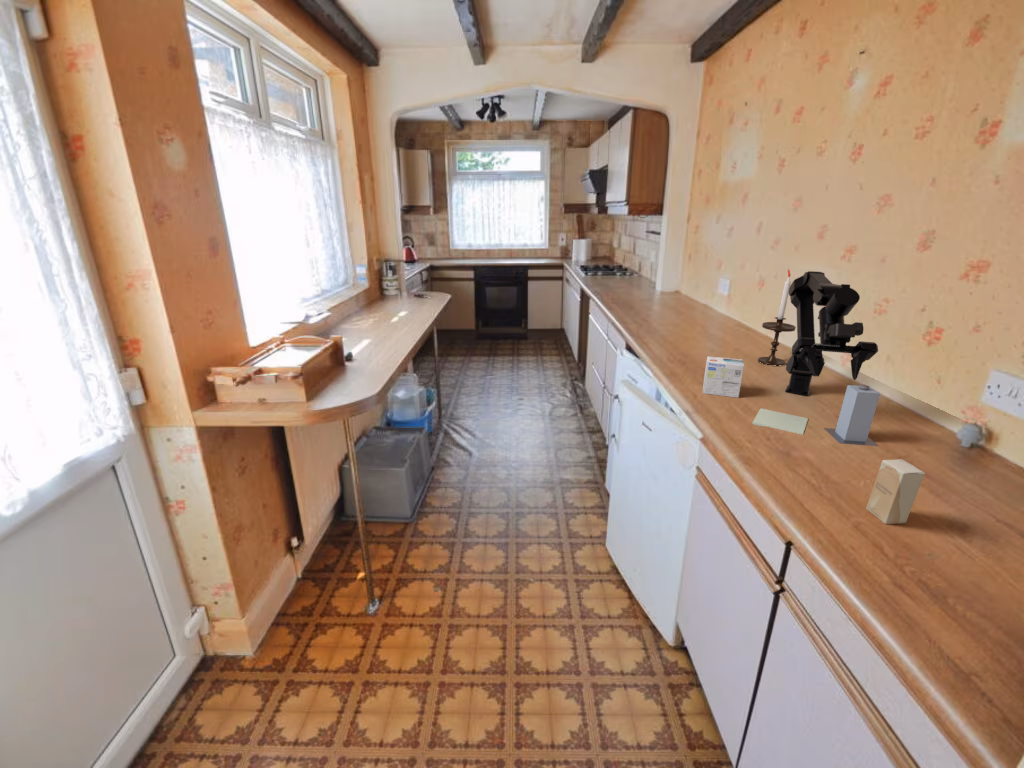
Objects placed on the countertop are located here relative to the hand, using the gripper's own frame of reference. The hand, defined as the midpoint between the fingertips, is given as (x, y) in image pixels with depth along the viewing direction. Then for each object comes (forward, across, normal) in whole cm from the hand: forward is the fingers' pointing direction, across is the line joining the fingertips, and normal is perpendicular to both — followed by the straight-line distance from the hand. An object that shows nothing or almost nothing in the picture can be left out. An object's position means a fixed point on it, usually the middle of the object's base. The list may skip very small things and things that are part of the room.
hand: (835, 377), depth 127 cm
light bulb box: (-2, -24, +22) cm, 33 cm away
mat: (+11, -11, +8) cm, 18 cm away
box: (+40, -2, -23) cm, 46 cm away
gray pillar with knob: (+15, +4, +4) cm, 16 cm away
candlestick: (-29, -1, +51) cm, 59 cm away
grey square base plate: (+15, +4, +4) cm, 16 cm away
